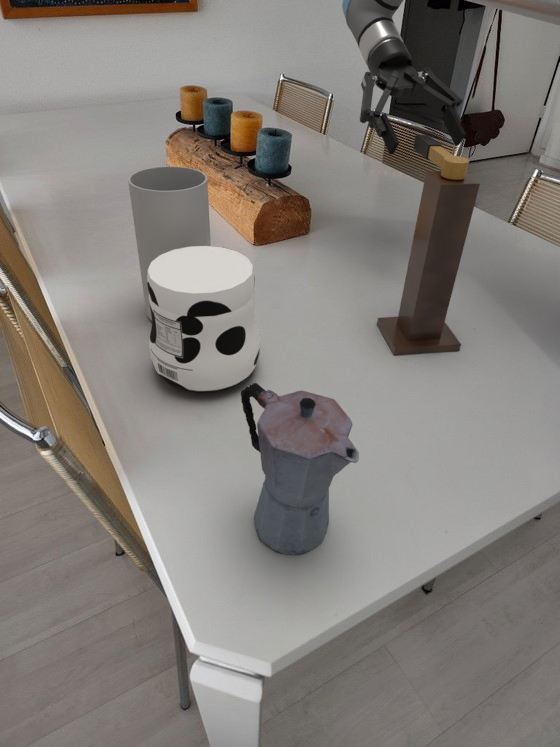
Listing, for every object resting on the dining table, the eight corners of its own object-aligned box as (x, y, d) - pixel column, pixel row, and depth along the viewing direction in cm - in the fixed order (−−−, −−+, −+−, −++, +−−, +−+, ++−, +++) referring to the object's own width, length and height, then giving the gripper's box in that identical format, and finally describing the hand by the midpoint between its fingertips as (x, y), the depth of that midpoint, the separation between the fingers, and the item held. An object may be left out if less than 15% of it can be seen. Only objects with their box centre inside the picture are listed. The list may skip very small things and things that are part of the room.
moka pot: (318, 588, 58) (336, 459, 46) (213, 515, 66) (204, 386, 53) (363, 530, 65) (389, 402, 52) (262, 469, 72) (264, 344, 60)
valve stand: (437, 320, 103) (475, 166, 86) (459, 351, 95) (505, 187, 78) (376, 324, 101) (402, 167, 84) (393, 355, 93) (426, 189, 76)
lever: (429, 149, 92) (432, 134, 90) (469, 179, 80) (473, 162, 78) (409, 149, 91) (411, 134, 90) (446, 180, 79) (449, 163, 78)
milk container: (258, 338, 96) (260, 243, 85) (260, 402, 82) (262, 298, 72) (160, 338, 95) (148, 241, 84) (145, 402, 81) (129, 297, 71)
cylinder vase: (137, 326, 98) (115, 187, 83) (158, 293, 108) (143, 163, 93) (204, 333, 97) (195, 194, 82) (220, 299, 107) (215, 169, 91)
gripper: (433, 67, 109) (476, 151, 103) (320, 77, 102) (358, 167, 96) (451, 33, 102) (498, 121, 96) (330, 41, 96) (372, 135, 90)
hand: (428, 144), depth 96 cm, fingers open, 13 cm apart
